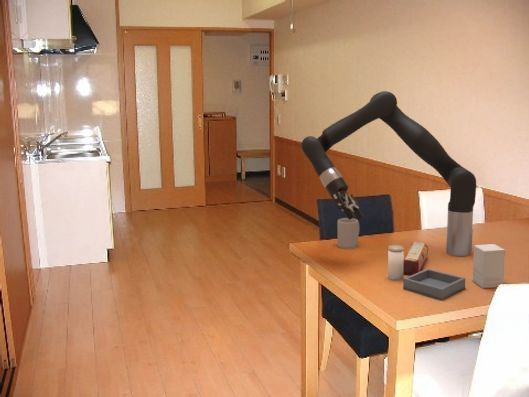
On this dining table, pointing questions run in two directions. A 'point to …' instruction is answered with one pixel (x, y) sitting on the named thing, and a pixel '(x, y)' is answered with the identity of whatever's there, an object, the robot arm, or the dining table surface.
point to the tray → (434, 284)
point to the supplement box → (488, 265)
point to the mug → (348, 233)
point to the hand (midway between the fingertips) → (356, 218)
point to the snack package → (415, 258)
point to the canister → (395, 262)
